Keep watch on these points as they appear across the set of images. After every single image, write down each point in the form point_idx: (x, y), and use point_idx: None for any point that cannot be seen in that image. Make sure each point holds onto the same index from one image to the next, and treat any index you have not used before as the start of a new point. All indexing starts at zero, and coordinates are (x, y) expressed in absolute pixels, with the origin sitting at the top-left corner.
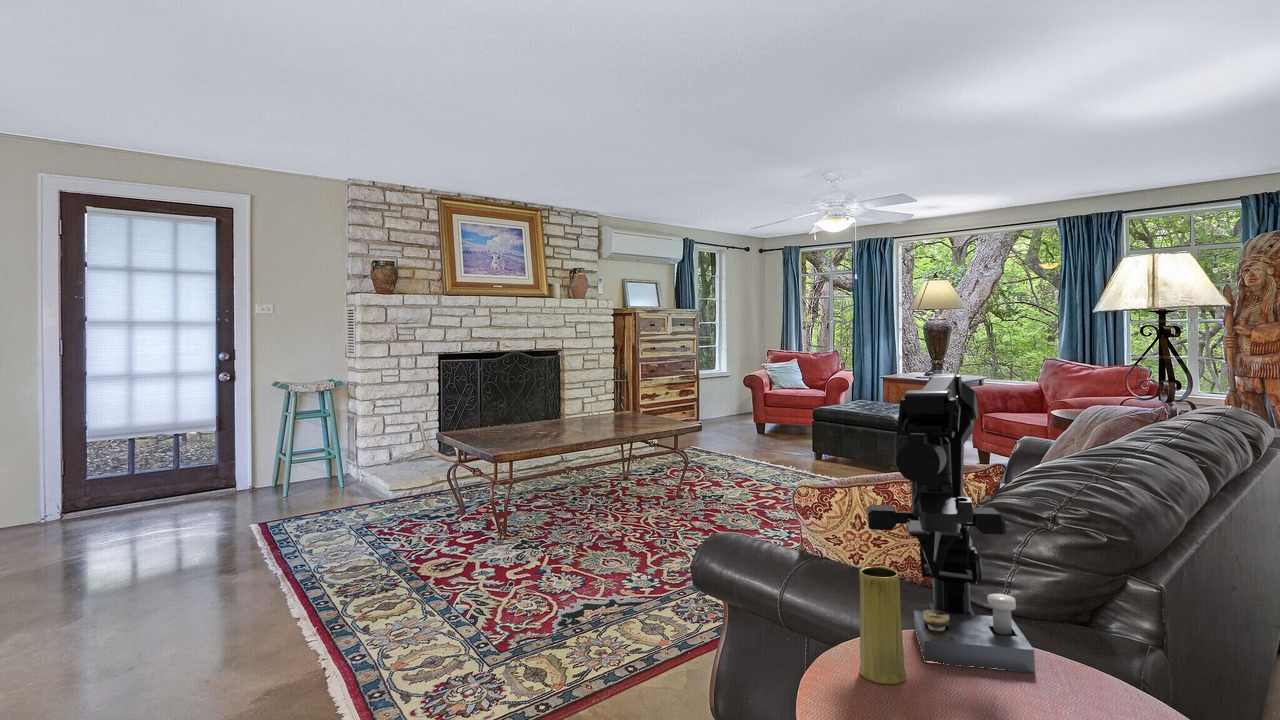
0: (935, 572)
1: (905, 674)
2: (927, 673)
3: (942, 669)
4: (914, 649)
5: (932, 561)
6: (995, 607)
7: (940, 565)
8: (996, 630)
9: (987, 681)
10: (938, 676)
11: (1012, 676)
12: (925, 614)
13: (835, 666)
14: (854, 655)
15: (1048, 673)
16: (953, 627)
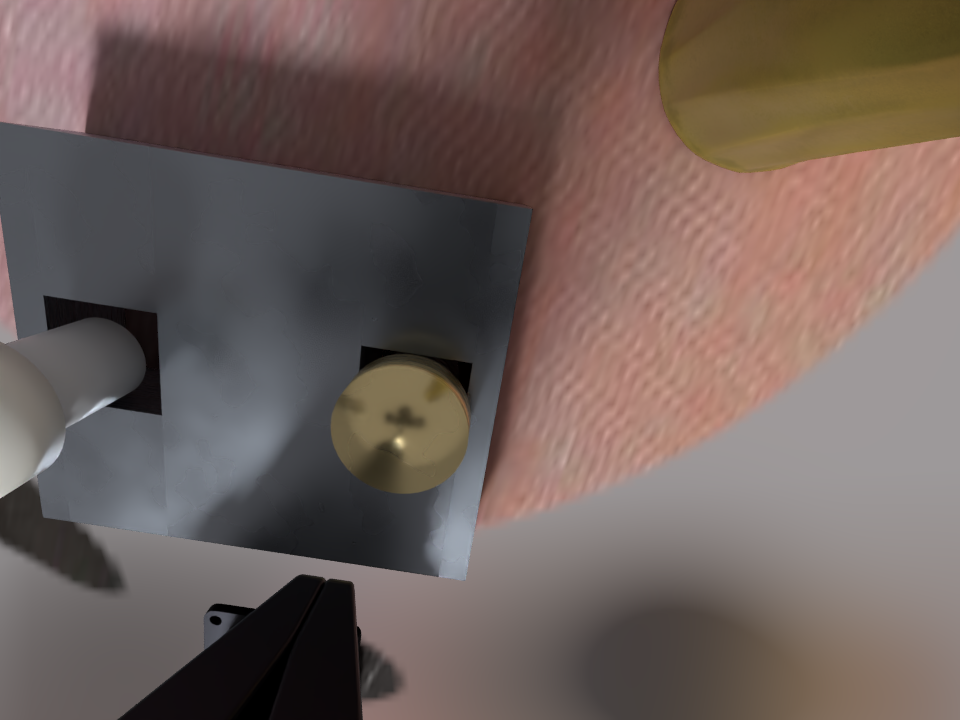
0: (311, 602)
1: (682, 1)
2: (547, 96)
3: (466, 146)
4: (526, 347)
5: (294, 710)
6: (18, 360)
7: (216, 655)
8: (129, 343)
9: (302, 28)
10: (506, 66)
11: (183, 94)
12: (460, 424)
13: (956, 143)
14: (814, 271)
15: None
16: (330, 393)
